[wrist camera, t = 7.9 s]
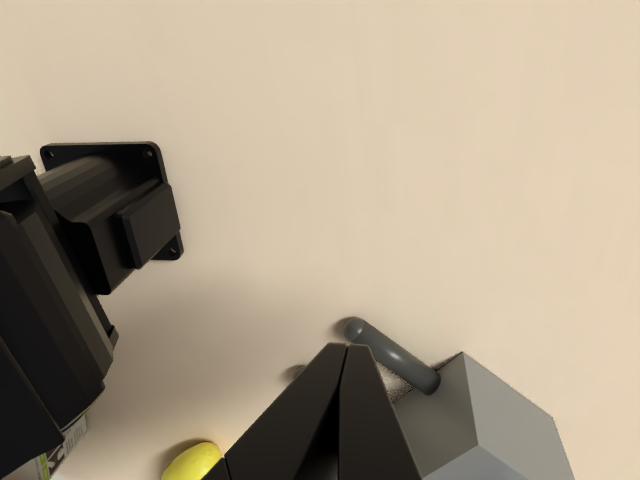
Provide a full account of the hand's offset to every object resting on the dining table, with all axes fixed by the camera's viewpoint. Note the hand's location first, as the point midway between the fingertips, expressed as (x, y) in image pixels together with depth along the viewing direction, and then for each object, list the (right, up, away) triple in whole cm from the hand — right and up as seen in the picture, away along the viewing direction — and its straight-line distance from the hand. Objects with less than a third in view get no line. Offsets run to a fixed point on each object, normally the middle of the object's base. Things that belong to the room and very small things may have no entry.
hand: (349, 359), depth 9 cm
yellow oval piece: (-10, -14, +25) cm, 30 cm away
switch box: (+5, -7, +18) cm, 20 cm away
